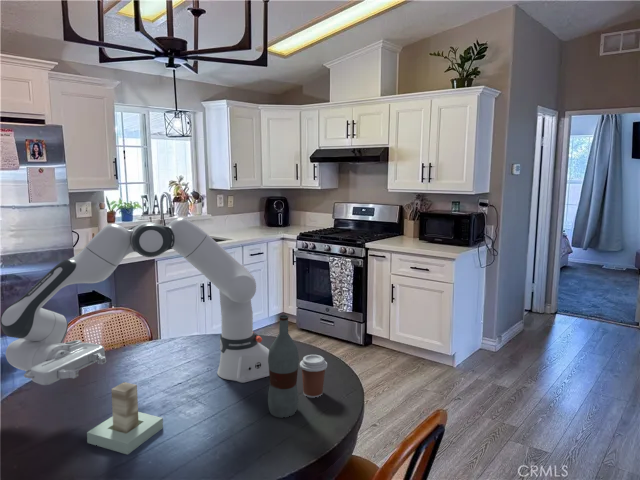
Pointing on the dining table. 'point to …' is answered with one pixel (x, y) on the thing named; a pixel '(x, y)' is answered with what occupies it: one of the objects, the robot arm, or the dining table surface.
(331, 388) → the dining table surface
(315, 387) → the coffee cup
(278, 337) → the bottle
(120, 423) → the peg
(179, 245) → the robot arm
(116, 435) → the socket plate
